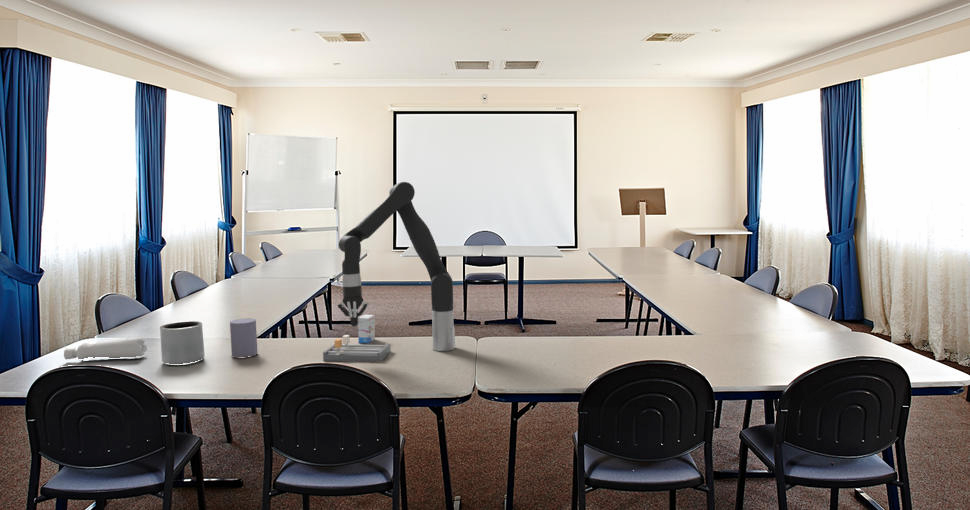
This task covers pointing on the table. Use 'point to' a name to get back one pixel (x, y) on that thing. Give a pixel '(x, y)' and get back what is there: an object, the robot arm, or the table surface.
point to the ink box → (366, 328)
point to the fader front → (338, 344)
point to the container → (243, 337)
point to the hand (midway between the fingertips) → (354, 326)
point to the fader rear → (346, 340)
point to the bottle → (109, 349)
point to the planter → (182, 342)
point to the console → (357, 353)
